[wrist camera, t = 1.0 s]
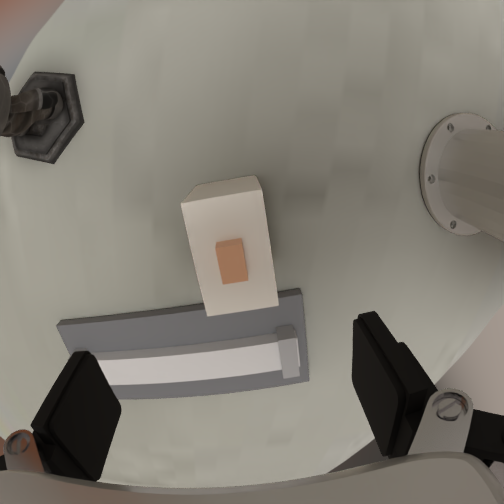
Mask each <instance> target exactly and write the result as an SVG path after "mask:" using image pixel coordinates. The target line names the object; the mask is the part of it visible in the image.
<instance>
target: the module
mask: <svg viewBox="0 0 504 504" xmlns="http://www.w3.org/2000/svg"><path fill="white" fill-rule="evenodd" d="M181 207H182V212H183V217H184V221H185V226H186V230H187V235H188V239H189V244H190V248H191V252H192V257H193V261H194V265H195V269H196V273H197V278H198V282H199V286H200V290H201V294H202V298H203V302H204V305H205V309H206V313H207V316H215V315H222V314H229V313H235V312H242V311H249V310H255V309H261V308H268V307H274V306H279V302H278V295H277V288H276V280H275V273H274V266H273V259H272V253H271V246H270V239H269V232H268V225H267V219H266V212H265V205H264V199H263V192H262V188H261V186H260V184H259V182H258V179H257V177H256V175H252V176H246V177H240V178H234V179H228V180H222V181H217V182H211V183H206V184H200V185H196V186H195V188H194V189H193V190H192V191H191V192H190V193H189V194H188V196H187V197H186V198H185V199H184V200H183V202H182V203H181Z"/></svg>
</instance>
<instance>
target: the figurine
mask: <svg viewBox="0 0 504 504" xmlns="http://www.w3.org/2000/svg"><path fill="white" fill-rule="evenodd" d="M83 124H84V119H83V114H82V110H81V105H80V100H79V96H78V91H77V85H76V80H75V75H74V74H64V73H49V72H34V73H33V74H32V75H31V76H30V78H29V79H28V81H27V82H26V84H25V85H24V87H23V88H22V89H21V91H20V92H19V94H18V95H14V96H11V93H10V87H9V83H8V80H7V78H6V77H5V72H4V70H3V68H2V67H1V66H0V136H4V137H12V142H13V147H14V151H15V154H16V155H17V156H18V157H23V158H28V159H33V160H37V161H42V162H47V163H51V164H54V163H55V162H56V160H57V159H58V158H59V156H60V155H61V153H62V152H63V150H64V149H65V148H66V146H67V145H68V143H69V142H70V141H71V139H72V138H73V137H74V135H75V134H76V133H77V131H78V130H79V129H80V128H81V126H82V125H83Z"/></svg>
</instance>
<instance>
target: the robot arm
mask: <svg viewBox="0 0 504 504" xmlns="http://www.w3.org/2000/svg"><path fill="white" fill-rule="evenodd" d="M420 183H421V190H422V195H423V198H424V201H425V204H426V207H427V208H428V210H429V212H430V214H431V216H432V217H433V218H434V220H435V221H436V222H437V223H438V224H439V225H440V226H442V227H443V228H444V229H446V230H448V231H449V232H451V233H454V234H457V235H463V236H469V235H474V234H477V233H479V232H481V231H483V232H485V233H487V234H489V235H491V236H493V237H495V238H497V239H499V240H501V241H502V242H504V131H497V130H496V129H495V128H494V126H493V125H492V124H491V123H490V122H488V121H487V120H486V119H485V118H483V117H481V116H479V115H476V114H471V113H458V114H453V115H450V116H448V117H447V118H445V119H443V120H442V121H441V122H440V123H439V124H438V125H436V127H435V128H434V129H433V131H432V132H431V134H430V135H429V137H428V140H427V142H426V144H425V147H424V150H423V154H422V158H421V166H420ZM352 382H353V386H354V388H355V391H356V393H357V395H358V398H359V400H360V403H361V405H362V407H363V410H364V412H365V415H366V417H367V419H368V422H369V424H370V427H371V429H372V432H373V434H374V437H375V439H376V442H377V444H378V447H379V449H380V452H381V454H382V456H387V455H388V457H389V459H388V460H384V461H380V462H376V463H372V464H367V465H363V466H360V467H355V468H351V469H348V470H343V471H338V472H333V473H329V474H323V475H318V476H313V477H307V478H301V479H295V480H289V481H282V482H275V483H267V484H257V485H247V486H234V487H216V488H159V487H141V486H129V485H118V484H109V483H102V482H97V480H99V479H100V477H101V474H102V471H103V468H104V464H105V461H106V458H107V455H108V451H109V448H110V445H111V442H112V439H113V436H114V433H115V430H116V427H117V424H118V421H119V418H120V415H121V405H120V403H119V401H118V399H117V398H116V396H115V394H114V392H113V390H112V388H111V387H110V385H109V383H108V381H107V379H106V377H105V375H104V373H103V371H102V369H101V367H100V365H99V363H98V361H97V359H96V357H95V356H94V355H93V354H91V353H90V352H89V351H75V352H74V353H73V354H72V355H71V357H70V359H69V360H68V362H67V363H66V365H65V367H64V368H63V370H62V372H61V373H60V375H59V376H58V378H57V380H56V381H55V383H54V385H53V386H52V388H51V390H50V392H49V393H48V395H47V397H46V398H45V400H44V402H43V404H42V405H41V407H40V409H39V411H38V412H37V414H36V416H35V418H34V420H33V421H32V423H31V425H30V426H31V427H32V428H33V430H34V431H33V433H31V432H30V431H28V430H18V431H15V432H13V433H12V434H11V435H10V436H9V437H8V438H7V439H6V441H5V443H4V455H2V456H0V504H504V416H502V415H498V414H493V413H488V412H484V411H480V410H475V409H473V402H472V400H471V398H470V397H469V396H468V395H467V394H466V393H464V392H463V391H460V390H457V389H451V388H447V389H442V390H439V391H438V390H437V389H436V387H435V385H434V384H433V382H432V381H431V379H430V378H429V377H428V375H427V374H426V372H425V371H424V369H423V368H422V366H421V365H420V364H419V362H418V361H417V359H416V358H415V356H414V355H413V354H412V352H411V351H410V349H409V348H408V347H407V345H406V344H405V343H403V342H399V343H398V342H397V341H396V340H395V338H394V337H393V335H392V334H391V332H390V331H389V330H388V328H387V327H386V325H385V324H384V323H383V321H382V320H381V318H380V317H379V316H378V314H377V313H376V312H375V311H371V312H367V313H362V314H359V315H358V319H354V321H353V358H352Z"/></svg>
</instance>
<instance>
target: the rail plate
mask: <svg viewBox="0 0 504 504" xmlns="http://www.w3.org/2000/svg"><path fill="white" fill-rule="evenodd" d="M277 295H278V302H279V306H274V307H268V308H261V309H255V310H249V311H242V312H235V313H229V314H222V315H215V316H207V313H206V309H205V305H204V303H203V304H196V305H189V306H182V307H174V308H166V309H159V310H151V311H143V312H134V313H126V314H117V315H108V316H99V317H89V318H79V319H69V320H61V321H60V322H59V323H58V324H57V325H56V327H57V329H58V331H59V333H60V335H61V337H62V339H63V342H64V344H65V346H66V348H67V350H68V352H69V354H70V357H71V355H72V354H73V353H74V352H75V351H89V352H90V353H91V354H93V355H94V356H95V357H96V359H97V361H98V363H99V365H100V367H101V369H102V371H103V373H104V375H105V377H106V379H107V381H108V383H109V385H110V387H111V388H112V390H113V392H114V394H115V396H116V398H117V399H159V398H178V397H192V396H204V395H215V394H225V393H234V392H242V391H250V390H257V389H264V388H271V387H278V386H284V385H290V384H295V383H301V382H306V381H309V369H308V356H307V343H306V332H305V321H304V310H303V300H302V293H301V290H300V288H299V289H293V290H287V291H281V292H277ZM69 359H70V358H69ZM69 359H68V360H69Z"/></svg>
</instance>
